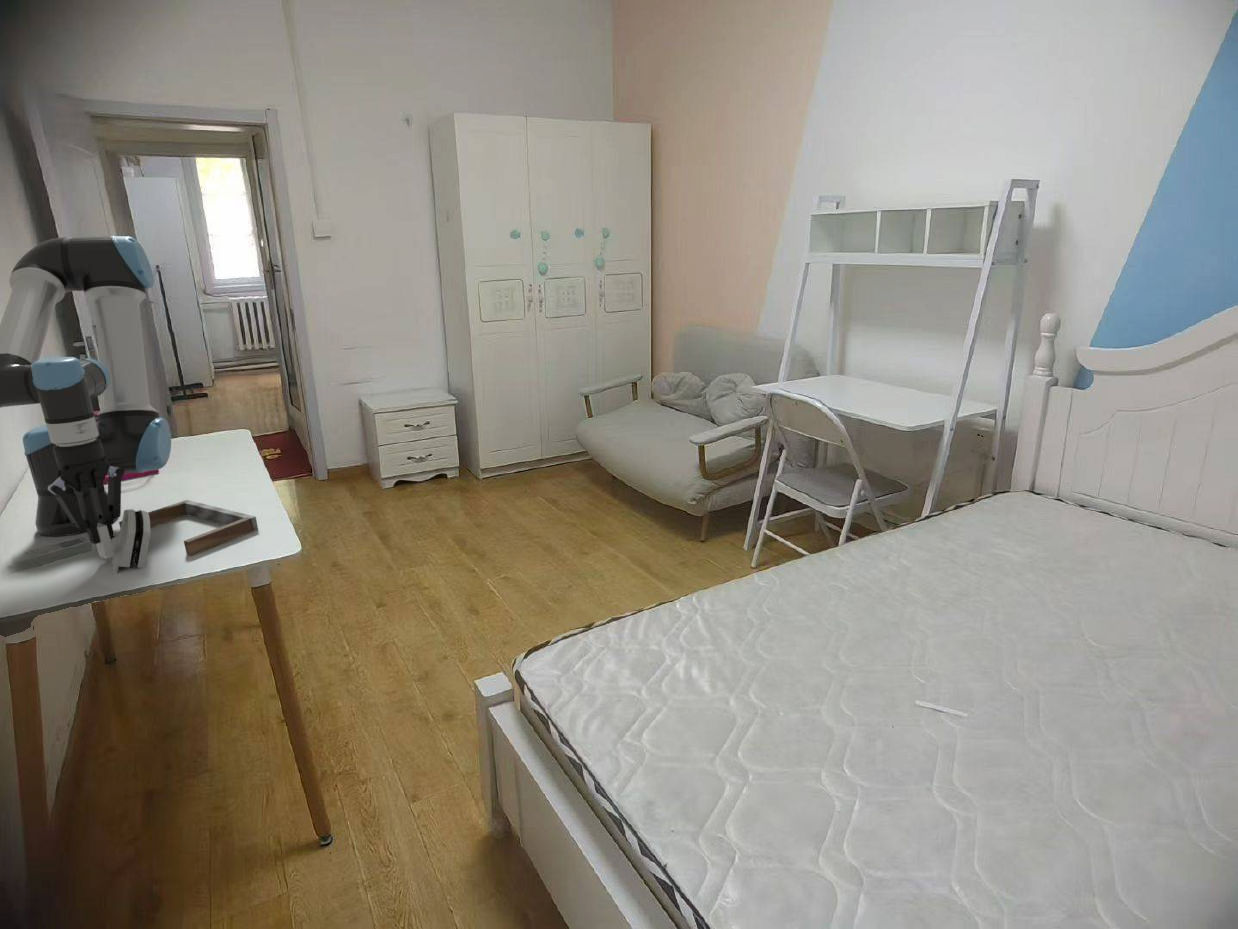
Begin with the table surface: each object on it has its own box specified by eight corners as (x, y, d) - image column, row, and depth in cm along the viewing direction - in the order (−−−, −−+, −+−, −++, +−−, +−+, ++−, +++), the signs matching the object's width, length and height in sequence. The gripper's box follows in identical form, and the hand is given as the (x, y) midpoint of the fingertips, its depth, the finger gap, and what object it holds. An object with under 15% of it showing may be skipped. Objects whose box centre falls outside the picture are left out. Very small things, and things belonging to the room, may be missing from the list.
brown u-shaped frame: (122, 535, 159) (118, 522, 158) (189, 511, 171) (186, 499, 170) (191, 555, 147) (188, 542, 146) (258, 529, 159) (255, 516, 158)
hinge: (110, 546, 153) (119, 500, 152) (137, 547, 156) (146, 502, 155) (113, 574, 140) (123, 524, 139) (143, 575, 143) (152, 526, 142)
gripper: (46, 452, 131) (80, 573, 138) (123, 434, 141) (151, 547, 149) (26, 447, 134) (60, 565, 141) (103, 430, 145) (131, 540, 152)
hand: (107, 555), depth 145 cm, fingers closed
